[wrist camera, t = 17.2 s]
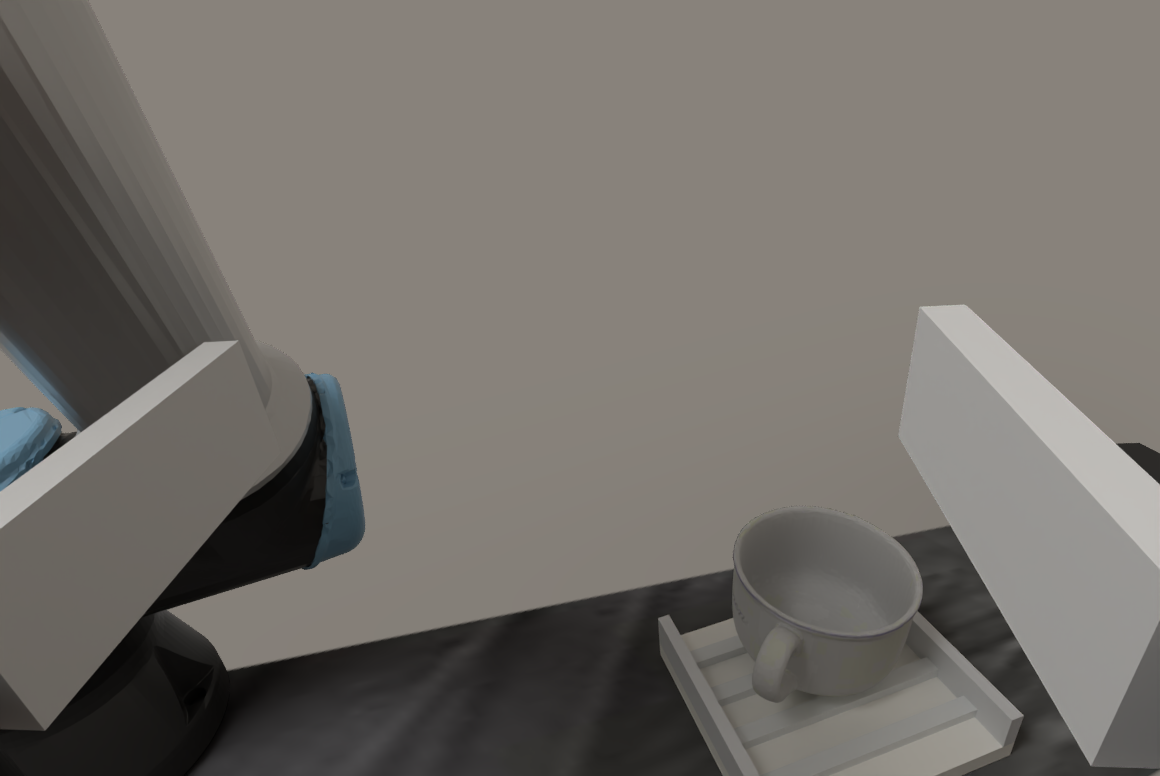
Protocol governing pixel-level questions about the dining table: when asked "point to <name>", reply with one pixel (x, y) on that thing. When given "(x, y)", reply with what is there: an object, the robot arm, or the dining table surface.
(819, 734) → the drying rack
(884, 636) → the teacup
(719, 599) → the dining table surface
